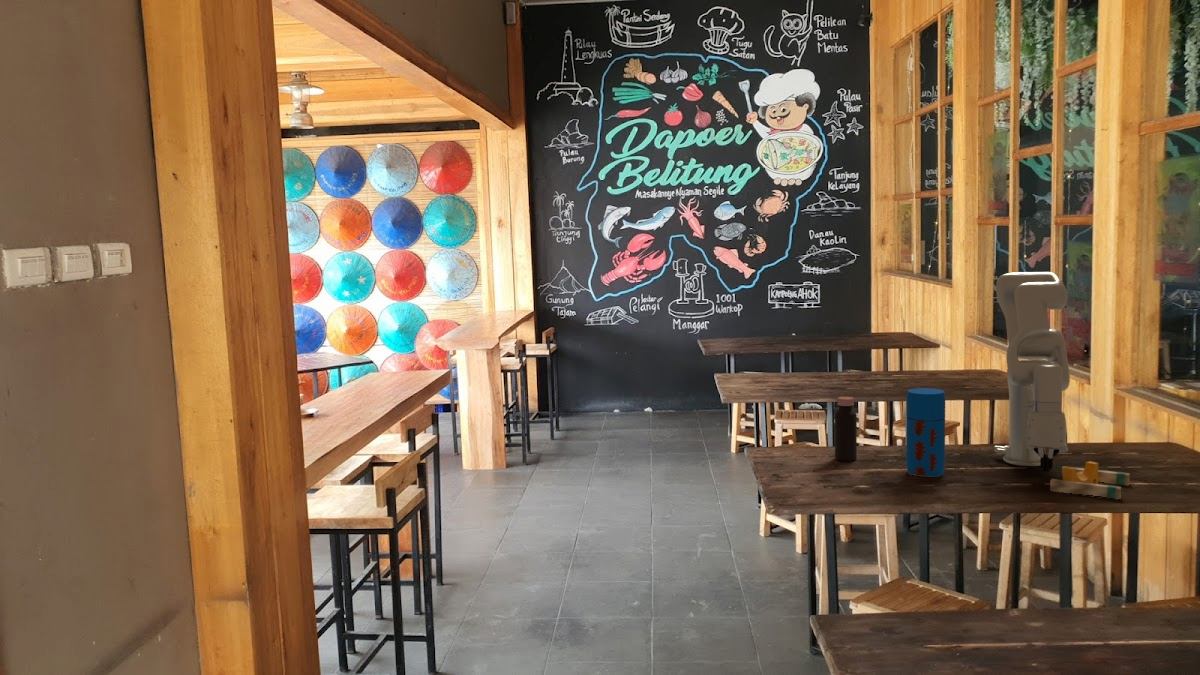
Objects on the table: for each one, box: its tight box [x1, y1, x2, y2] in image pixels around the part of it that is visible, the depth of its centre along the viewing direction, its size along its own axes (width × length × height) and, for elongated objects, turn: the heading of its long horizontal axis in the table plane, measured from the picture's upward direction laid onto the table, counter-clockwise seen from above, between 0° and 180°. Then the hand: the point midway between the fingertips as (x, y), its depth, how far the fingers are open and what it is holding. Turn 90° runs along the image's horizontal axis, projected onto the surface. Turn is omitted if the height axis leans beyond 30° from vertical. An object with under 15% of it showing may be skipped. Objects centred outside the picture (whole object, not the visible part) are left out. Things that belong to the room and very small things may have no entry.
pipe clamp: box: [1062, 460, 1099, 484], centre depth 264 cm, size 12×4×6 cm, turn 119°
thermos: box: [906, 387, 946, 476], centre depth 282 cm, size 11×11×25 cm
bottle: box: [834, 396, 858, 462], centre depth 302 cm, size 7×7×20 cm
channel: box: [1049, 465, 1131, 500], centre depth 263 cm, size 17×18×3 cm
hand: (1046, 470), depth 268 cm, fingers closed
